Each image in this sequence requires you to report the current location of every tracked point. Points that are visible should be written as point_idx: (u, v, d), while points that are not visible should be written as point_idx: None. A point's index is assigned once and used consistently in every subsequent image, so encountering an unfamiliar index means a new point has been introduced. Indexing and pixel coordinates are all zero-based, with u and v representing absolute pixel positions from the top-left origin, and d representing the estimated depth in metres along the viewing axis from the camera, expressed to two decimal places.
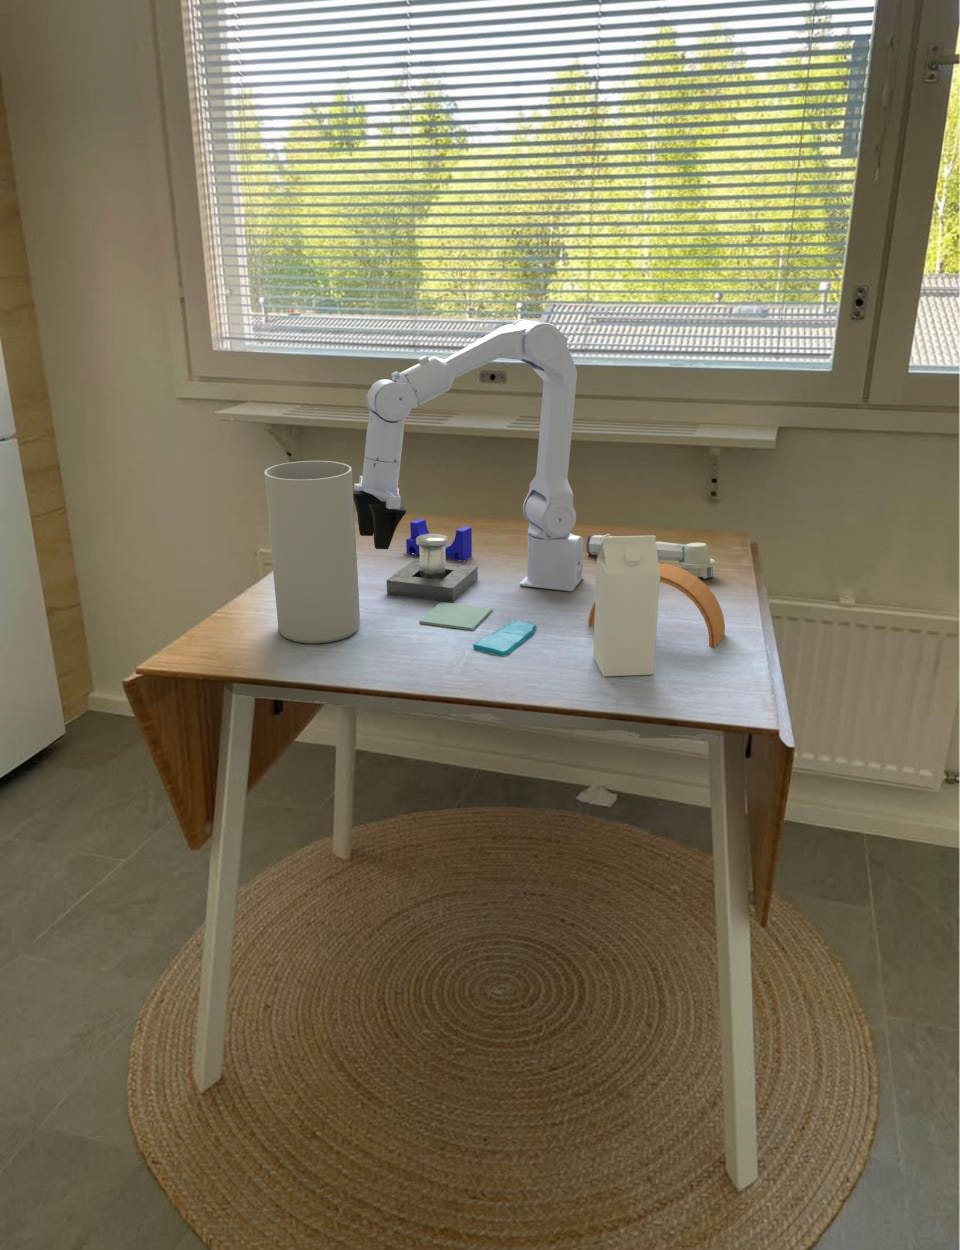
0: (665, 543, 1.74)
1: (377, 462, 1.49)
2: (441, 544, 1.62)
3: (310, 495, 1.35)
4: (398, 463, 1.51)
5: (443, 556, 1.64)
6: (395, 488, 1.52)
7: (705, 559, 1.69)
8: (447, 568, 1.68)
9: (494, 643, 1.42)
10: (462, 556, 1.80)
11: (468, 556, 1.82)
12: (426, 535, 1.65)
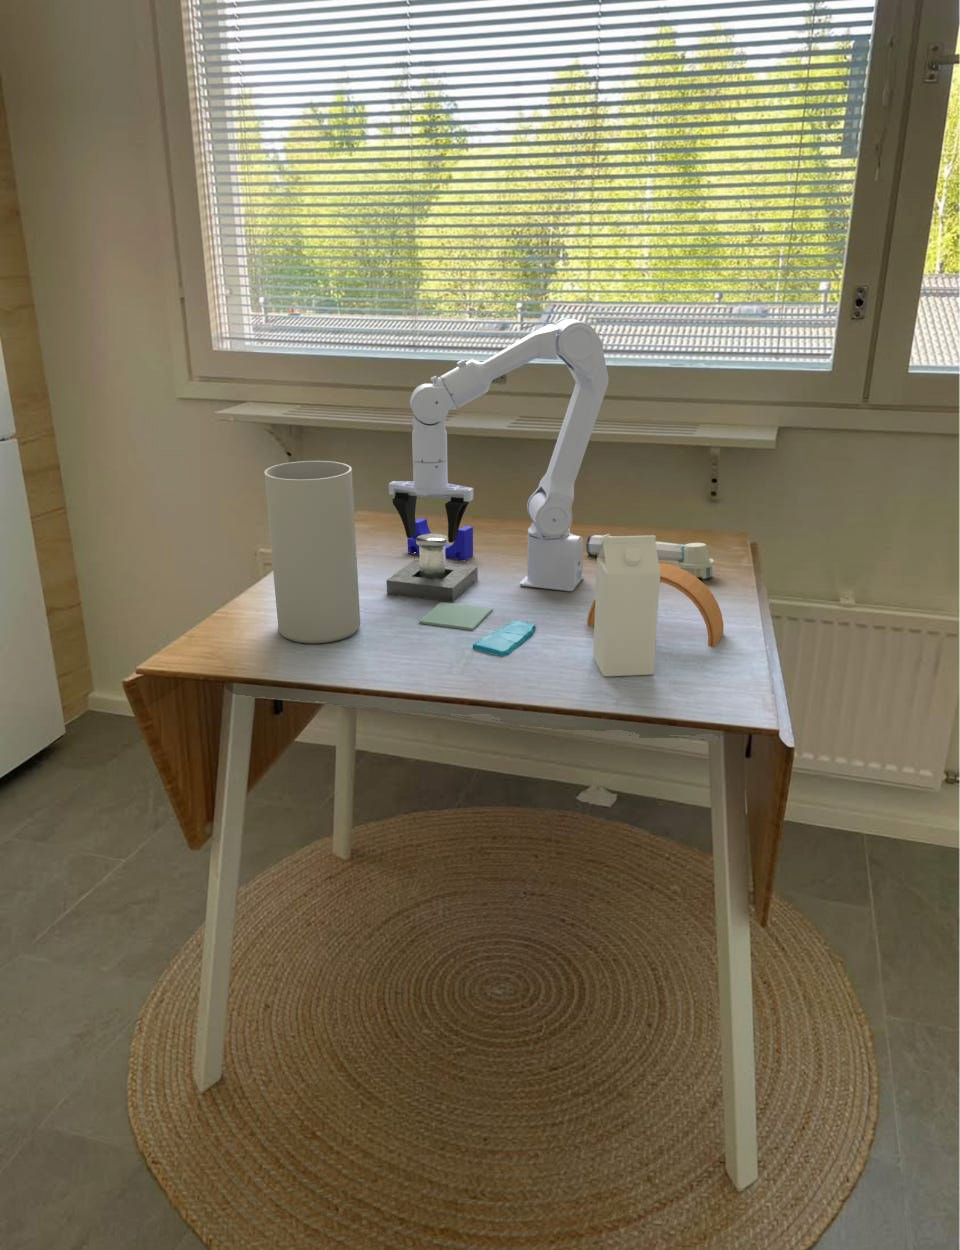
0: (664, 543, 1.74)
1: (439, 464, 1.57)
2: (441, 544, 1.62)
3: (310, 495, 1.35)
4: None
5: (443, 556, 1.64)
6: None
7: (705, 559, 1.69)
8: (447, 568, 1.68)
9: (493, 643, 1.42)
10: (463, 555, 1.81)
11: (469, 555, 1.82)
12: (426, 535, 1.65)
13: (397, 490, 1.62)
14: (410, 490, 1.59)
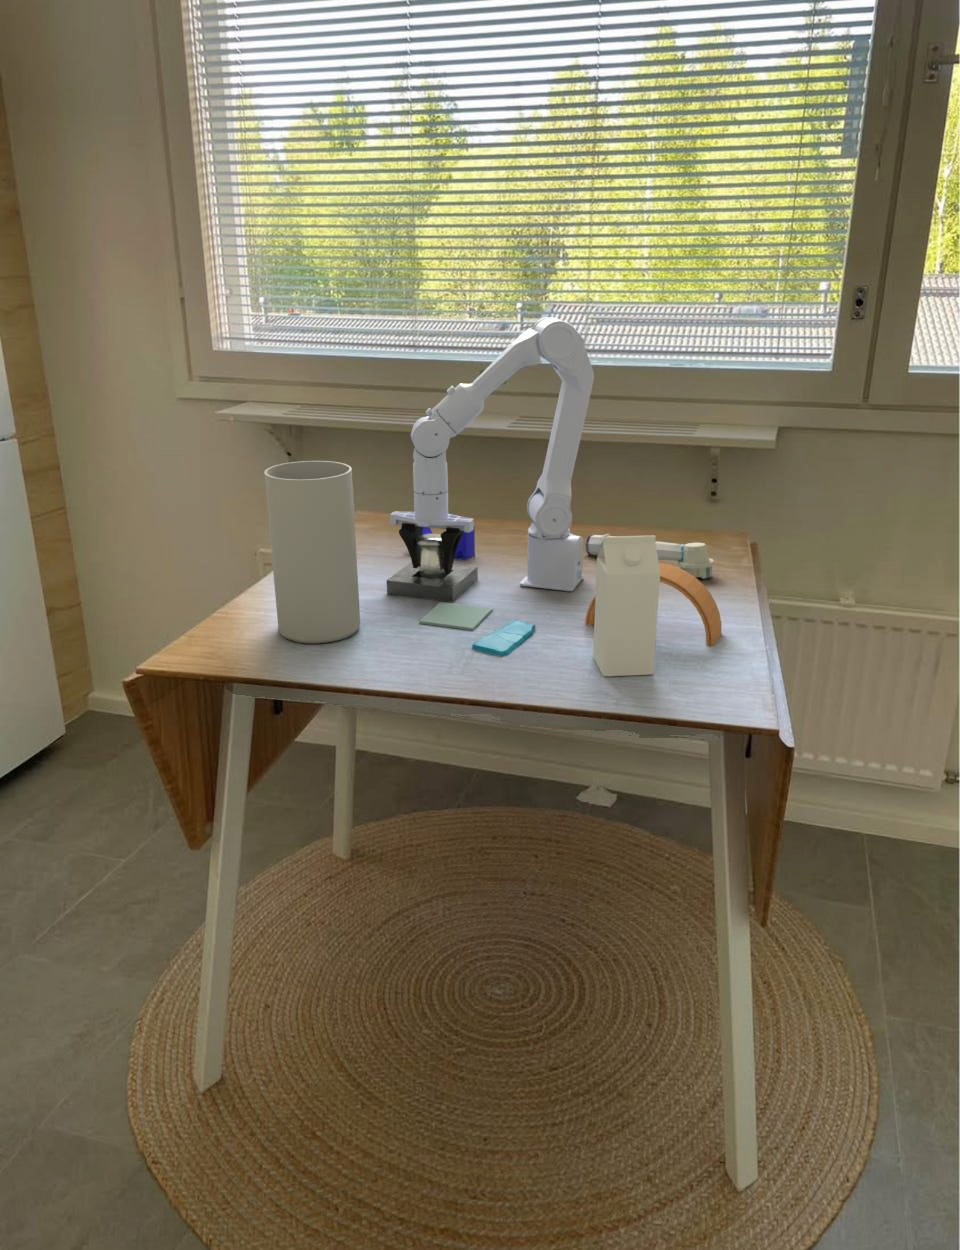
0: (664, 543, 1.74)
1: (440, 495, 1.59)
2: (441, 544, 1.62)
3: (310, 495, 1.35)
4: None
5: (443, 556, 1.64)
6: None
7: (704, 559, 1.69)
8: None
9: (493, 643, 1.42)
10: (465, 554, 1.81)
11: (471, 554, 1.83)
12: (426, 535, 1.65)
13: (398, 520, 1.64)
14: (411, 521, 1.61)
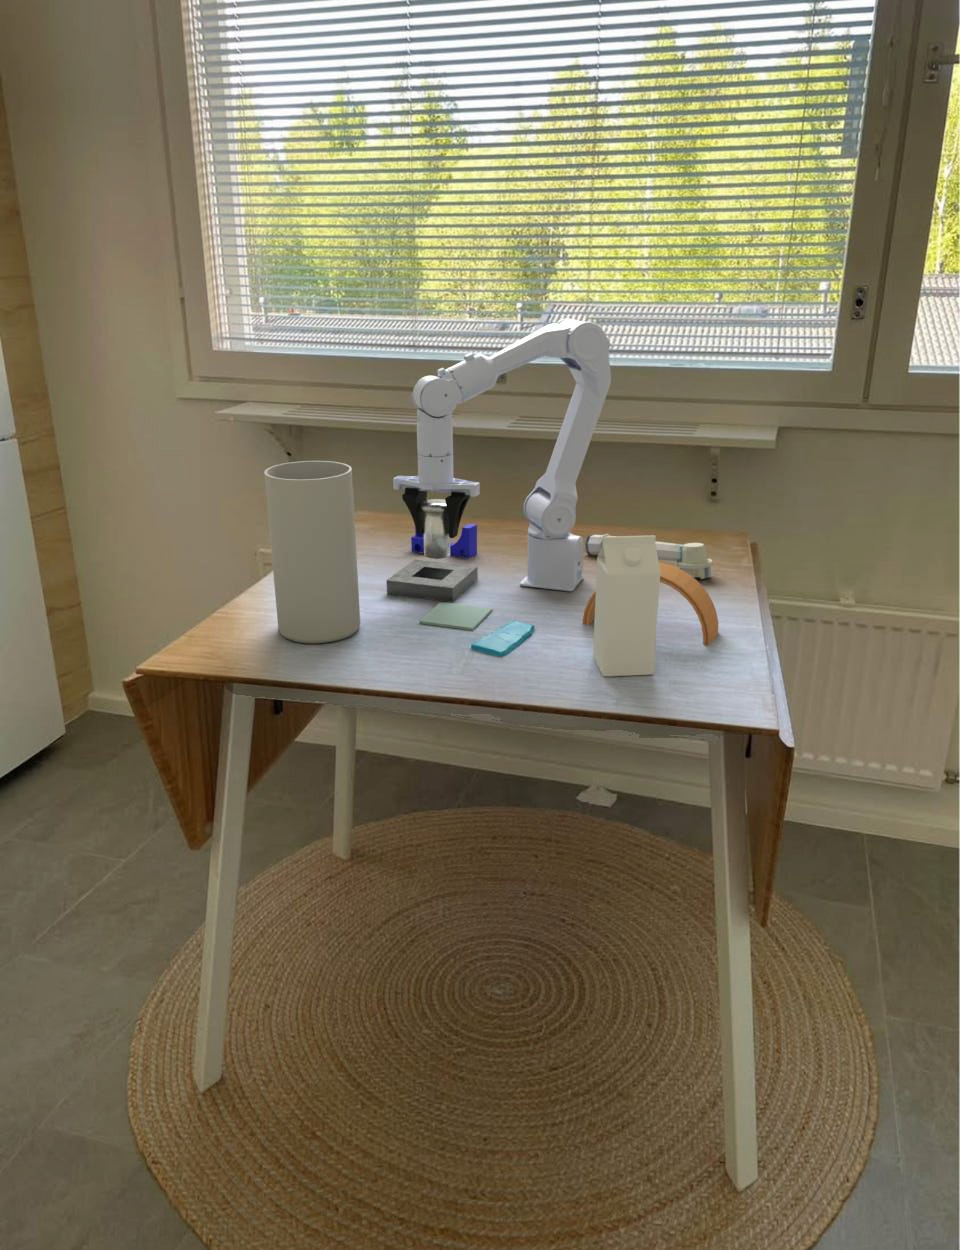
0: (663, 543, 1.74)
1: (444, 458, 1.53)
2: (446, 510, 1.56)
3: (310, 495, 1.35)
4: None
5: (448, 522, 1.58)
6: None
7: (703, 560, 1.69)
8: (447, 568, 1.68)
9: (492, 644, 1.42)
10: (468, 553, 1.82)
11: (474, 553, 1.83)
12: (430, 501, 1.59)
13: (402, 485, 1.59)
14: (415, 485, 1.56)
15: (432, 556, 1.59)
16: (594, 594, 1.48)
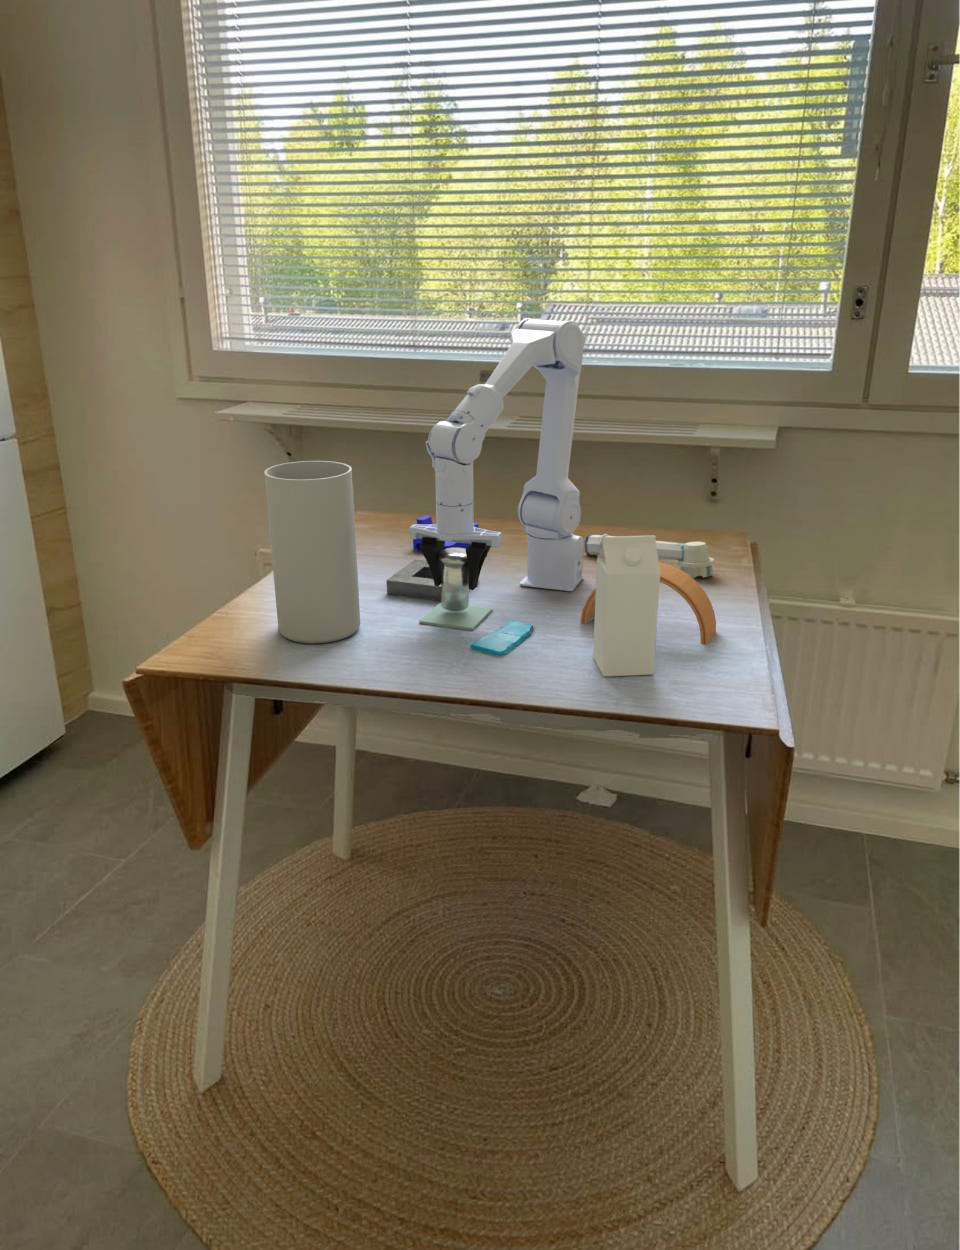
0: (664, 542, 1.74)
1: (465, 507, 1.45)
2: (467, 562, 1.48)
3: (310, 495, 1.35)
4: None
5: (468, 574, 1.50)
6: None
7: (705, 558, 1.69)
8: None
9: (491, 644, 1.42)
10: None
11: None
12: (449, 550, 1.51)
13: (419, 534, 1.50)
14: (433, 535, 1.47)
15: (450, 608, 1.52)
16: (592, 593, 1.49)
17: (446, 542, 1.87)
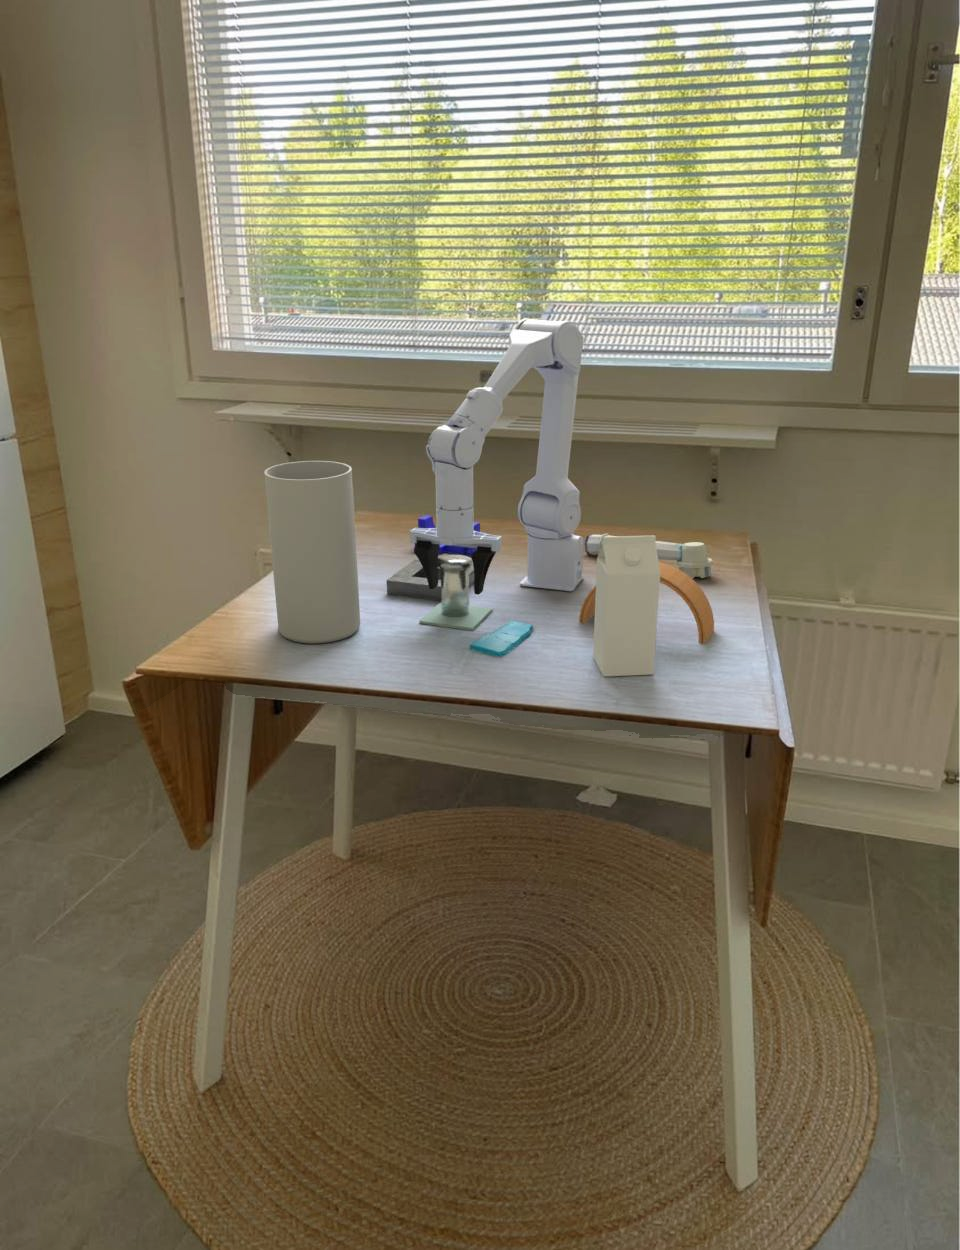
0: (663, 542, 1.74)
1: (465, 511, 1.45)
2: (465, 566, 1.49)
3: (310, 495, 1.35)
4: None
5: (467, 579, 1.51)
6: None
7: (703, 559, 1.69)
8: None
9: (490, 644, 1.42)
10: (471, 551, 1.83)
11: None
12: (448, 557, 1.52)
13: (419, 538, 1.51)
14: (433, 539, 1.48)
15: (451, 615, 1.52)
16: (590, 593, 1.49)
17: None
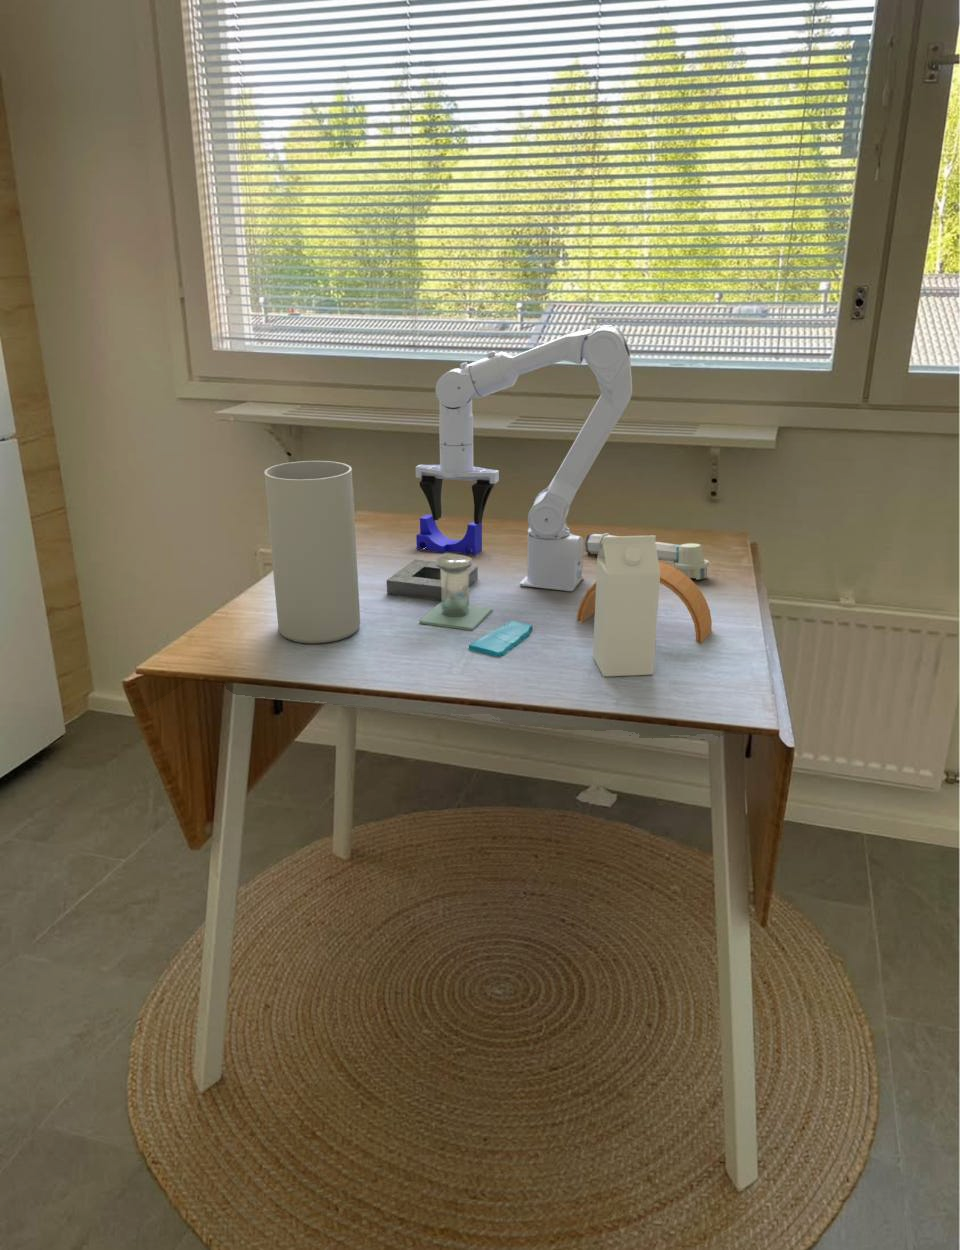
0: (661, 543, 1.74)
1: (466, 447, 1.61)
2: (465, 566, 1.49)
3: (310, 495, 1.35)
4: None
5: (467, 579, 1.51)
6: None
7: (699, 560, 1.68)
8: None
9: (489, 644, 1.42)
10: (474, 550, 1.84)
11: (479, 550, 1.85)
12: (447, 557, 1.52)
13: (424, 473, 1.66)
14: (437, 473, 1.63)
15: (451, 615, 1.52)
16: (588, 592, 1.49)
17: (449, 540, 1.88)
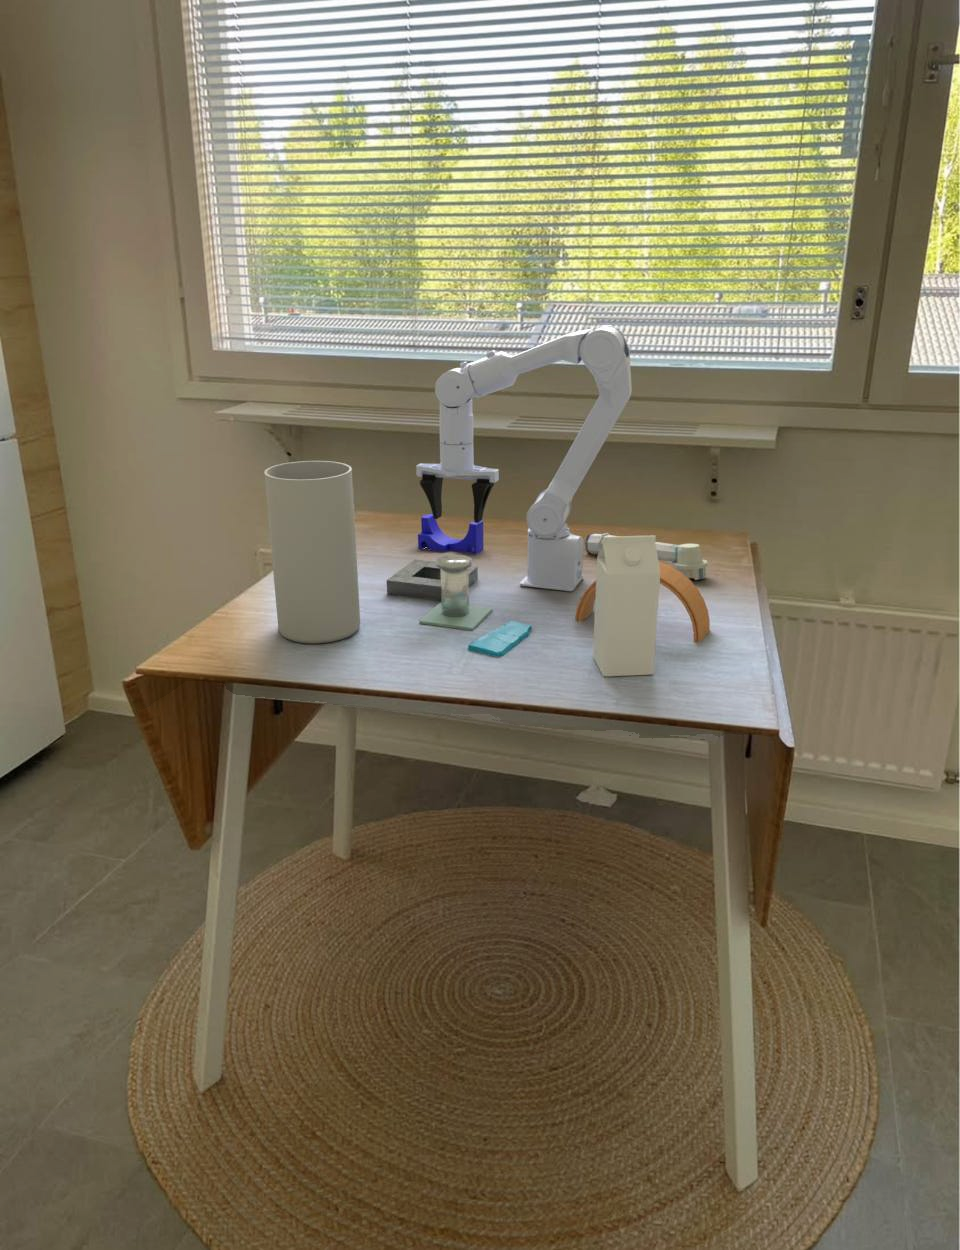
0: (660, 543, 1.74)
1: (466, 446, 1.62)
2: (465, 566, 1.49)
3: (310, 495, 1.35)
4: None
5: (467, 579, 1.51)
6: None
7: (697, 560, 1.68)
8: None
9: (489, 644, 1.42)
10: (475, 549, 1.84)
11: (480, 549, 1.86)
12: (447, 557, 1.52)
13: (424, 472, 1.67)
14: (437, 472, 1.64)
15: (451, 615, 1.52)
16: (586, 591, 1.49)
17: (451, 540, 1.88)
